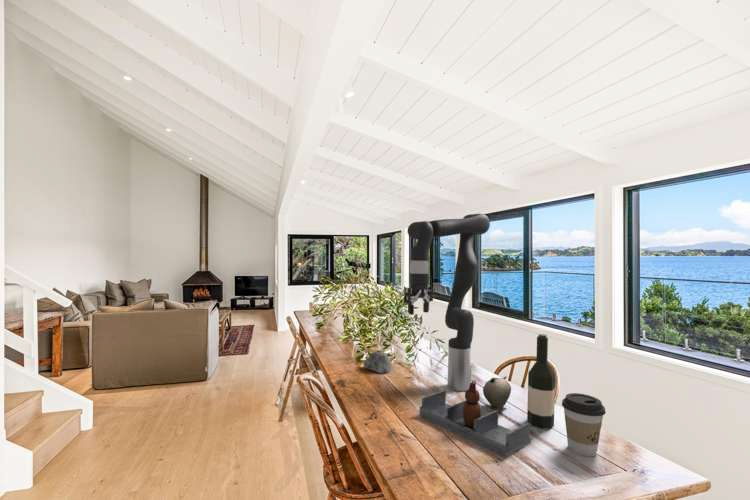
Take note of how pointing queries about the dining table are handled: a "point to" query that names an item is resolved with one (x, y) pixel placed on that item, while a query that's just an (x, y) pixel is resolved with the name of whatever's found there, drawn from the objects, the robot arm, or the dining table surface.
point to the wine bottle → (541, 389)
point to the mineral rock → (378, 362)
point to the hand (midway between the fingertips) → (418, 313)
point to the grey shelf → (475, 426)
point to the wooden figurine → (471, 405)
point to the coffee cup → (583, 422)
